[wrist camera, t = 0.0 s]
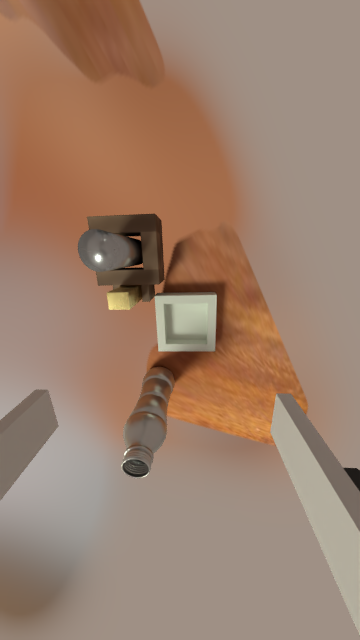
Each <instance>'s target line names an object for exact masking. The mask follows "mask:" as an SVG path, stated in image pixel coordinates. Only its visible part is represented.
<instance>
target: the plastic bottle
mask: <svg viewBox="0 0 360 640" xmlns="http://www.w3.org/2000/svg"><path fill="white" fill-rule="evenodd" d="M174 385H175V381H174V376H173V374H172V372H171V371H170V370H168V369H167V368H164V367H154V368H152V369H150V370H149V371H148V372H147V373H146V375H145V376H144V378H143V383H142V390H141V394H140V398H139V400H138V402H137V404H136V406H135V408H134V410H133V412H132V413H131V415H130V417H129V418H128V420H127V422H126V424H125V426H124V432H123V438H124V441H125V445H126V447H127V449H126V451H125V453H124V459H123V462H122V470H123V472H124V473H125V474H126V475H127V476H129V477H132V478H143V477H145V476H147V475H148V474H149V472H150V469H151V464H152V462H153V454H154V453H155V452H156V451H157V450H158V449H159V448H160V447H161V446H162V444H163V442H164V440H165V438H166V432H167V407H168V402H169V398H170V395H171V393H172V391H173V388H174Z"/></svg>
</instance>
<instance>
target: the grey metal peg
mask: <svg viewBox="0 0 360 640" xmlns="http://www.w3.org/2000/svg"><path fill="white" fill-rule="evenodd" d="M78 253H79V256H80V258H81V260H82V262H83V263H84V264H85V265H86V266H87V267H88V268H90V269H92V270H94V271H97V272H104V271H109V270H114V269H119V268H124V267H129V266H134V265H139V264H142V263H143V255H142V243H141V241H140V240H137V239H133V238H130V237H126V236H122V235H118V234H115V233H111V232H107V231H103V230H100V229H91V230H88V231H86V232H85V233H84V234H83V235H82V236H81V238H80V240H79V243H78Z"/></svg>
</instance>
